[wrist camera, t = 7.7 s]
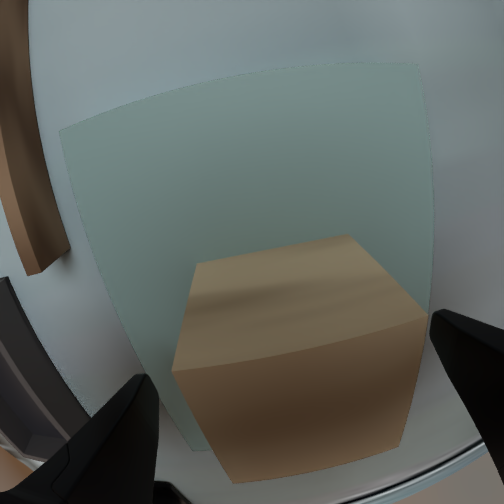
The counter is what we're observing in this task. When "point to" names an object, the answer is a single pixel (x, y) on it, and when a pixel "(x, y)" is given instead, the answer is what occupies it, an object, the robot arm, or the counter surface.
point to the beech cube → (298, 358)
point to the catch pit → (31, 388)
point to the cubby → (24, 151)
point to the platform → (250, 188)
